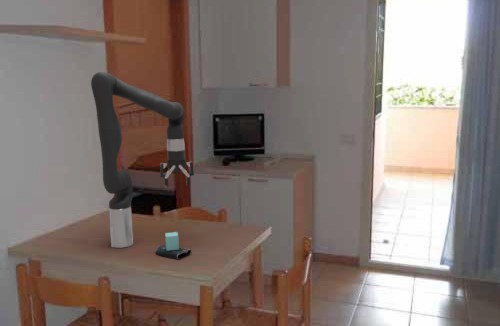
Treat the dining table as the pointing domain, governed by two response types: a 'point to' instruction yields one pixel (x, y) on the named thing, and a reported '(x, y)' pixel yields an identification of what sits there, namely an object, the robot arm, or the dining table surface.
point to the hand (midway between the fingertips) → (177, 185)
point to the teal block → (172, 241)
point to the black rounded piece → (171, 252)
